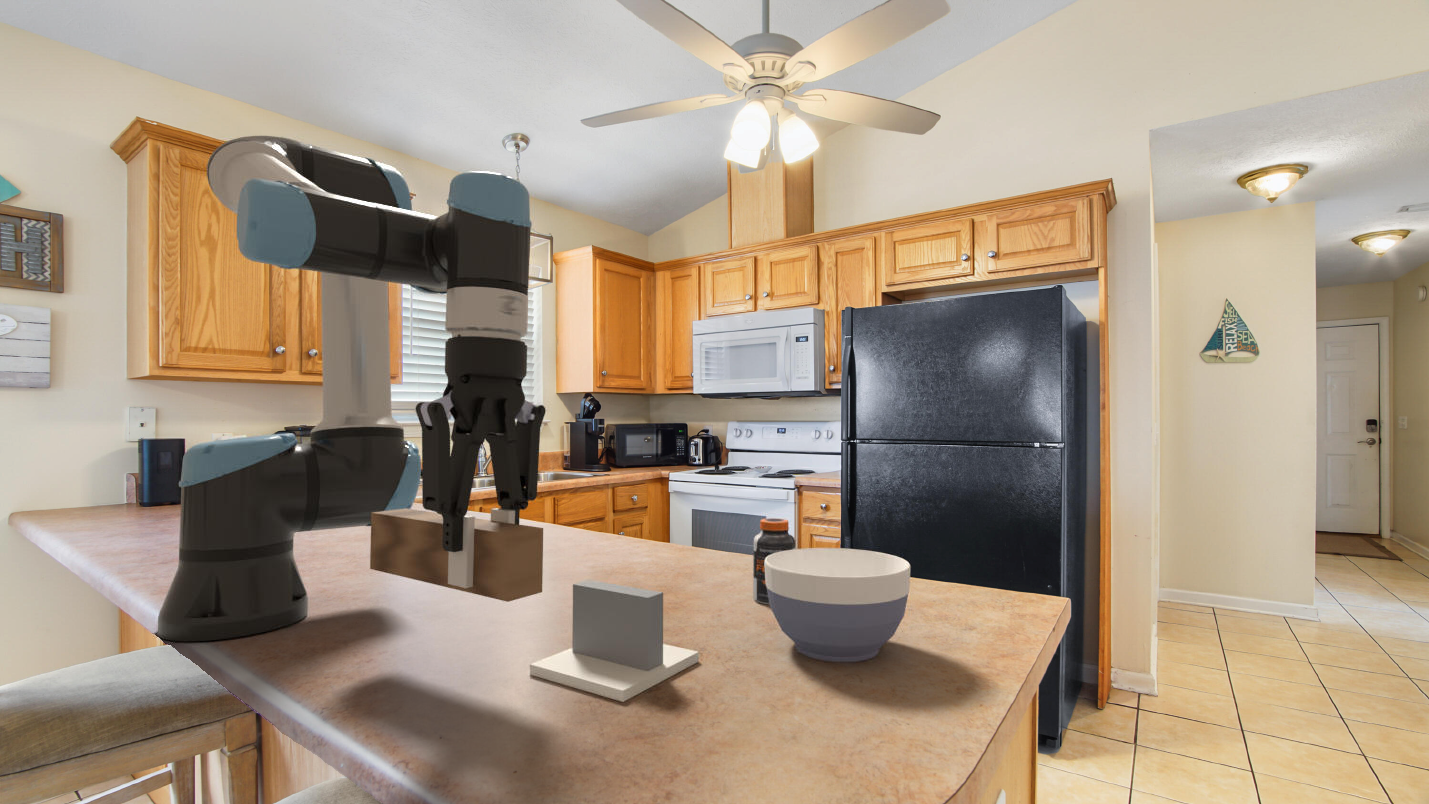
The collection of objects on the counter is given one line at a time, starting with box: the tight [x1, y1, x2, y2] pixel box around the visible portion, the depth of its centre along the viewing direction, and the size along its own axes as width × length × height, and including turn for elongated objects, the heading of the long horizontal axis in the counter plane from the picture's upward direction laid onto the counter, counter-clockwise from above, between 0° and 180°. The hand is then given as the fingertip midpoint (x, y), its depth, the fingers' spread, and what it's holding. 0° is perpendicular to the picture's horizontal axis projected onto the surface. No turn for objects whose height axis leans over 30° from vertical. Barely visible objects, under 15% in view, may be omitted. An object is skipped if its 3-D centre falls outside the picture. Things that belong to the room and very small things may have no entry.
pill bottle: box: [752, 517, 796, 605], centre depth 93 cm, size 6×6×11 cm
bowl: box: [764, 547, 911, 663], centre depth 73 cm, size 16×16×10 cm
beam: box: [369, 508, 544, 603], centre depth 66 cm, size 22×4×6 cm, turn 57°
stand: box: [529, 579, 700, 703], centre depth 67 cm, size 12×12×8 cm
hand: (481, 579), depth 64 cm, fingers closed on beam, 4 cm apart
